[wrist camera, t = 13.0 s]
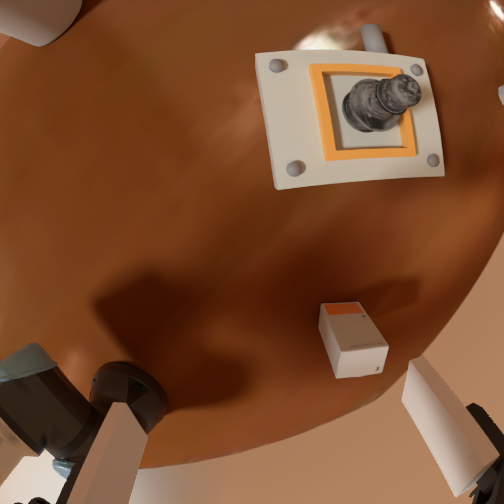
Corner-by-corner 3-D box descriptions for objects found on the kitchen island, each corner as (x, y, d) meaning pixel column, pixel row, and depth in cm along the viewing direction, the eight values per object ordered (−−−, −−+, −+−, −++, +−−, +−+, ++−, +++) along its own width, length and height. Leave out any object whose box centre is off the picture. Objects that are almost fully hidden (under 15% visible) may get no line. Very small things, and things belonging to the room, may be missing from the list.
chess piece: (371, 81, 25) (424, 46, 14) (394, 126, 27) (456, 111, 15) (330, 95, 26) (370, 58, 15) (353, 142, 28) (407, 130, 16)
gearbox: (274, 187, 34) (279, 190, 28) (249, 38, 28) (248, 14, 22) (424, 174, 33) (451, 176, 27) (398, 40, 27) (418, 24, 21)
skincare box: (358, 299, 38) (391, 345, 27) (354, 324, 40) (382, 374, 28) (319, 302, 38) (340, 351, 27) (316, 327, 40) (335, 380, 28)
